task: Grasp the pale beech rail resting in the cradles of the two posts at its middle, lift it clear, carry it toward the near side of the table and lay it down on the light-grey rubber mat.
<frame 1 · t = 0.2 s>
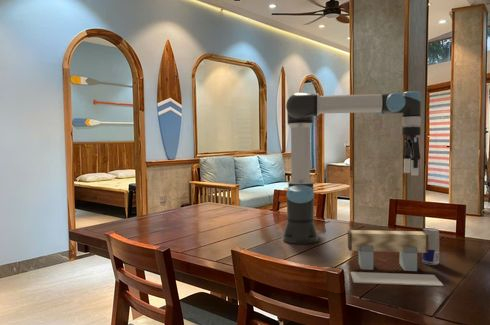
hand: (410, 174, 181), 28 cm above the table, fingers open, 13 cm apart
post right: (407, 267, 138), on the table
energy drink: (430, 263, 143), on the table
post left: (365, 266, 140), on the table
rail: (386, 249, 139), point 6 cm above the table, touching post left, post right
mat: (394, 279, 127), on the table
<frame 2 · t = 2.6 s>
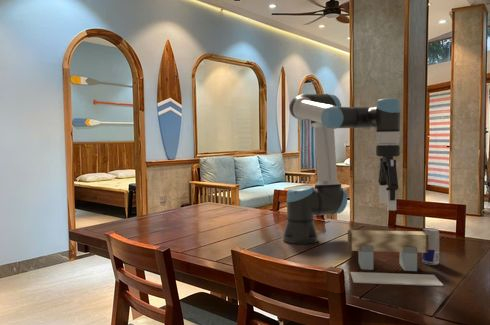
hand: (387, 206, 138), 21 cm above the table, fingers open, 13 cm apart
nothing on the table moved.
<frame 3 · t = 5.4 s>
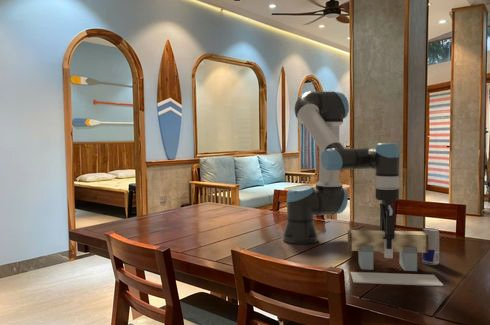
hand: (386, 255, 139), 4 cm above the table, fingers closed on rail, 5 cm apart
rail: (386, 249, 139), point 6 cm above the table, touching gripper, post right
everything else where it was.
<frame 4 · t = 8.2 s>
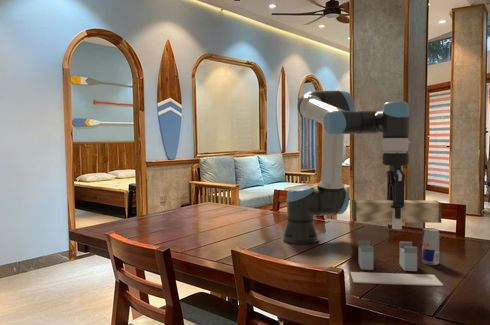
hand: (394, 226, 126), 17 cm above the table, fingers closed on rail, 5 cm apart
rail: (395, 220, 126), point 19 cm above the table, touching gripper
everything else where it was.
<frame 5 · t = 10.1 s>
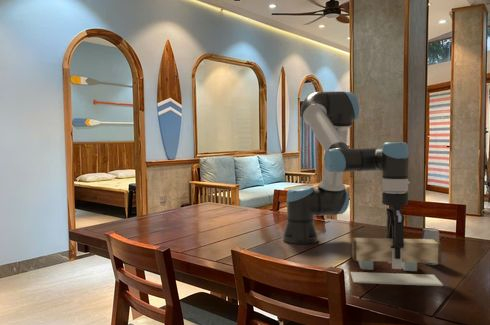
hand: (394, 265, 127), 4 cm above the table, fingers closed on rail, 5 cm apart
rail: (394, 259, 127), point 6 cm above the table, touching gripper
everything else where it was.
when the fingers open (1 cm above the table, at t = 11.5 s): rail drops 3 cm, resting on mat.
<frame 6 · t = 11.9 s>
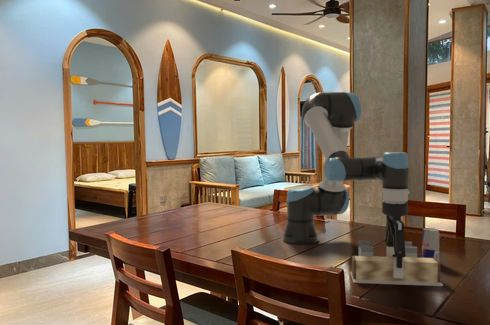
hand: (394, 271, 127), 2 cm above the table, fingers open, 10 cm apart
rail: (394, 278, 127), resting on mat
everything else where it was.
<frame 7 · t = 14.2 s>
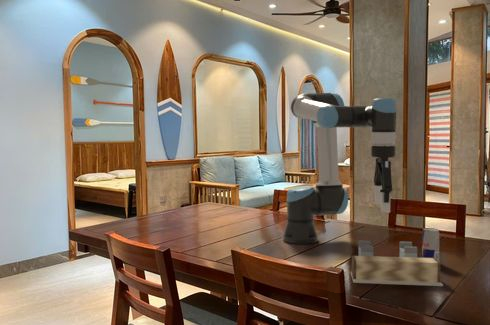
hand: (381, 208, 136), 21 cm above the table, fingers open, 13 cm apart
nothing on the table moved.
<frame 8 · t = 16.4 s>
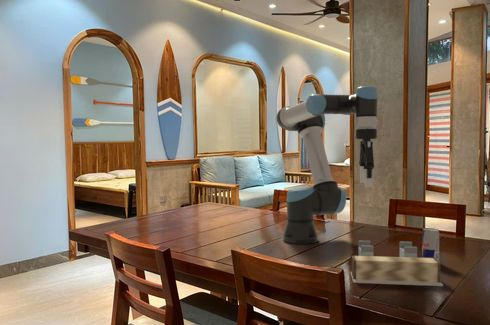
hand: (366, 185, 152), 27 cm above the table, fingers open, 13 cm apart
nothing on the table moved.
at the end: rail inside the target area (0.1 cm from its centre), resting on mat; the gripper is holding nothing; rail touching mat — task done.
